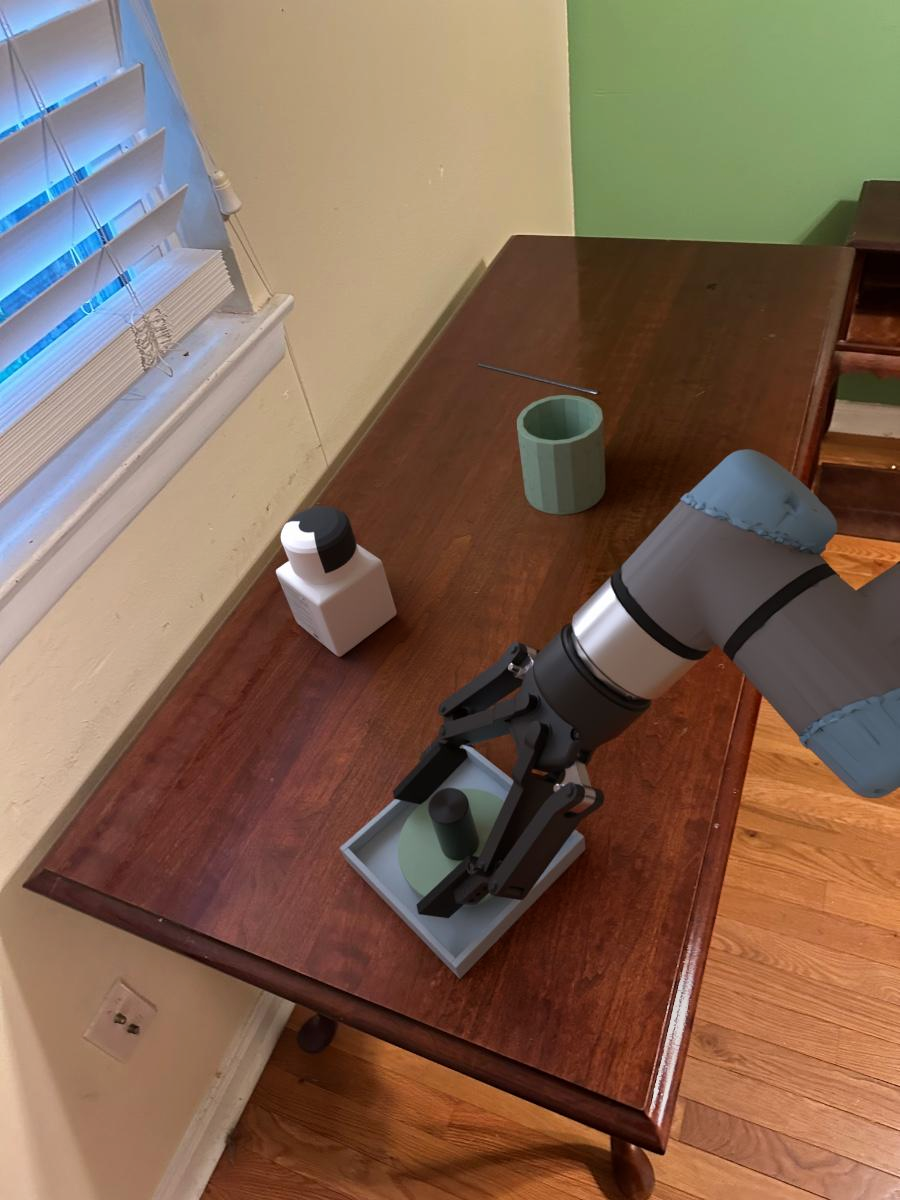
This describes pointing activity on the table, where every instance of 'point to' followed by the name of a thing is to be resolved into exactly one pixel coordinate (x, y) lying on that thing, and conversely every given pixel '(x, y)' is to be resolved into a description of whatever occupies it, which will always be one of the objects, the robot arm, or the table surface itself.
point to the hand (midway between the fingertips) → (419, 851)
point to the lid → (445, 835)
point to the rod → (538, 378)
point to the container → (333, 580)
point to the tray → (446, 937)
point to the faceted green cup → (562, 454)
